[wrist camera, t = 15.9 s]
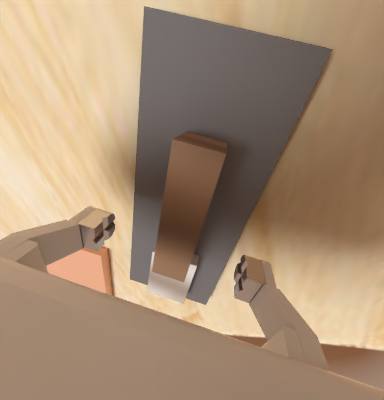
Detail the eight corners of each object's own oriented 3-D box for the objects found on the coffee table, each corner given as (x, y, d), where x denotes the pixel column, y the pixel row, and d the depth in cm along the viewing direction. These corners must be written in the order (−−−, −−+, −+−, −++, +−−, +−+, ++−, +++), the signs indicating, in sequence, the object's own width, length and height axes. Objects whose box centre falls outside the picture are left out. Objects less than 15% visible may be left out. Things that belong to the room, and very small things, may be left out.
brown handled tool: (176, 128, 11) (158, 135, 8) (238, 145, 10) (241, 158, 8) (151, 280, 19) (138, 308, 16) (186, 292, 18) (178, 322, 16)
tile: (27, 233, 19) (51, 289, 25) (100, 255, 18) (108, 309, 24) (41, 224, 20) (61, 280, 26) (110, 245, 20) (115, 298, 25)
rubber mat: (152, 15, 9) (144, 6, 8) (322, 54, 8) (332, 49, 8) (134, 271, 20) (129, 279, 19) (207, 296, 20) (205, 304, 19)
